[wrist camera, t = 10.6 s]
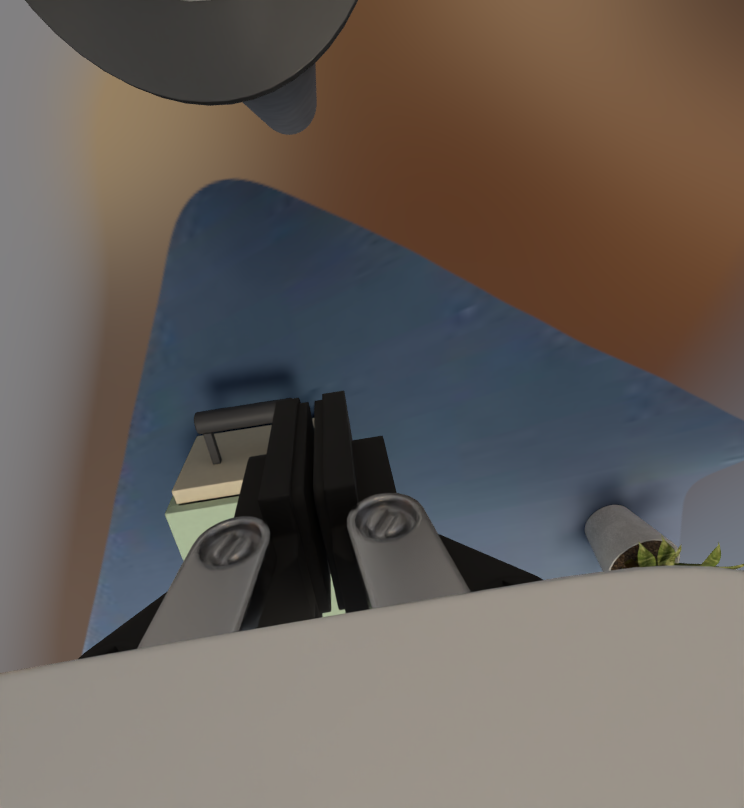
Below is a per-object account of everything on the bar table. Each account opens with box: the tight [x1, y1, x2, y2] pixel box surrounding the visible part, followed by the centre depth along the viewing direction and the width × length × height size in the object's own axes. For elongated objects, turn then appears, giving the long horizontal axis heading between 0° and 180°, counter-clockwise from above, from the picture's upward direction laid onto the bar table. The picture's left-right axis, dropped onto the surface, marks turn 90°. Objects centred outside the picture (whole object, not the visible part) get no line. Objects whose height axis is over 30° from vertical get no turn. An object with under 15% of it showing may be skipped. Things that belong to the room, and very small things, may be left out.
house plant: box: [585, 505, 744, 572], centre depth 44 cm, size 14×14×16 cm
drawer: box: [172, 398, 314, 504], centre depth 39 cm, size 18×11×8 cm, turn 7°
